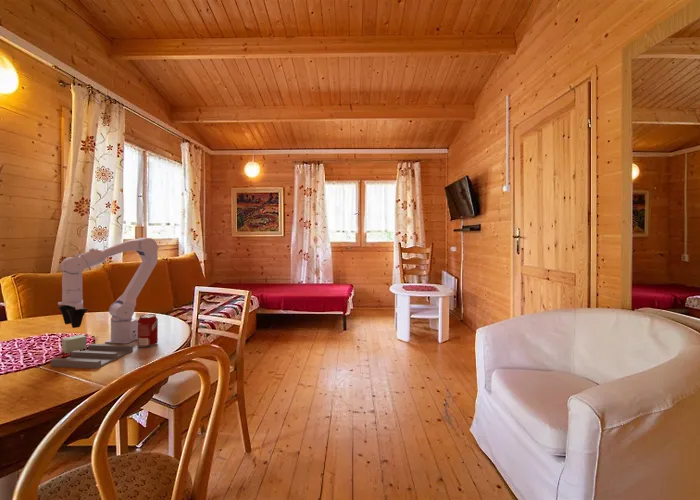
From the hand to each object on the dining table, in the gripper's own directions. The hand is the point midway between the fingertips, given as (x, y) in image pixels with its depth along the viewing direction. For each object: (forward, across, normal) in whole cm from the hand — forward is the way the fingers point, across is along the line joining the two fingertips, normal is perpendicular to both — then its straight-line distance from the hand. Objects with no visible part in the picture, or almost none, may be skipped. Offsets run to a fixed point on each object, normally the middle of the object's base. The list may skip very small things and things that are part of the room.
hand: (72, 325), depth 119 cm
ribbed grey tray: (+10, +15, +2) cm, 18 cm away
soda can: (+10, +15, +19) cm, 26 cm away
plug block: (+10, 0, 0) cm, 10 cm away
